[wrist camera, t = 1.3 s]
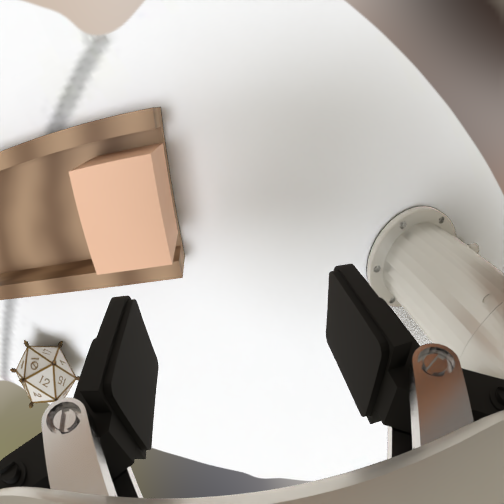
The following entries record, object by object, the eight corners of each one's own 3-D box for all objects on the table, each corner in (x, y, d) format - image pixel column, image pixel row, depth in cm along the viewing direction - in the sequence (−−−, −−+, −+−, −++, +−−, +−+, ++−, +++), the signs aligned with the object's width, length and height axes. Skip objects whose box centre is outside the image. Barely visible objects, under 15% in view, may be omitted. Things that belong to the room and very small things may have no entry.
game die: (62, 345, 38) (34, 404, 32) (23, 313, 31) (-11, 379, 26) (104, 366, 35) (73, 434, 29) (61, 335, 28) (23, 414, 23)
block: (163, 142, 24) (150, 153, 19) (178, 232, 28) (172, 264, 23) (95, 156, 24) (68, 171, 19) (115, 242, 27) (97, 274, 22)
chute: (160, 106, 24) (150, 106, 20) (184, 257, 30) (182, 283, 26) (-30, 164, 22) (-57, 176, 18) (7, 282, 29) (-12, 305, 24)
